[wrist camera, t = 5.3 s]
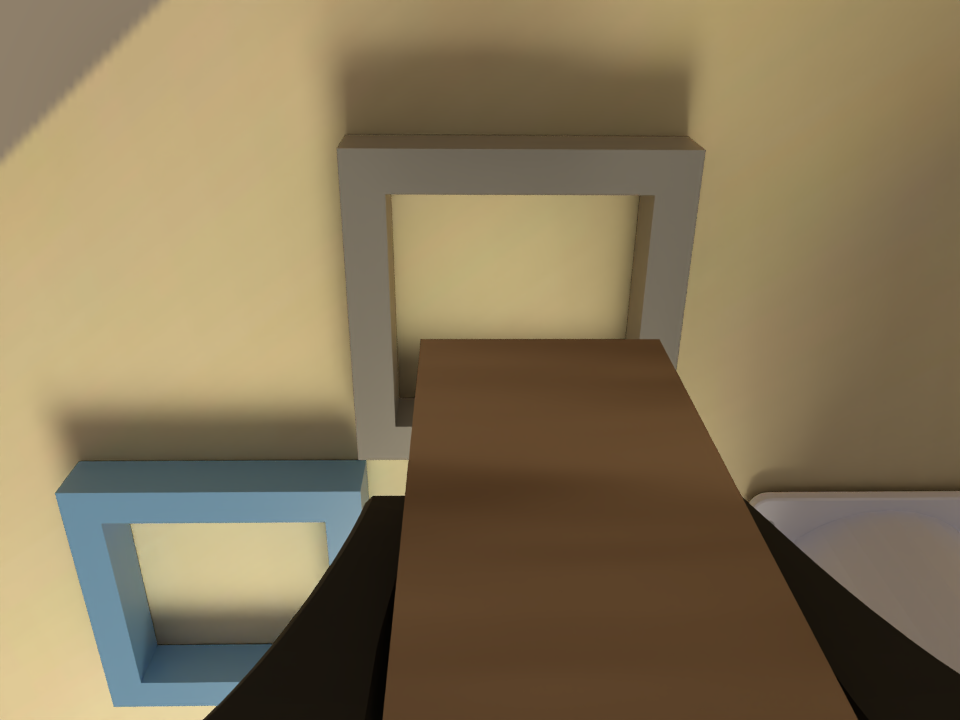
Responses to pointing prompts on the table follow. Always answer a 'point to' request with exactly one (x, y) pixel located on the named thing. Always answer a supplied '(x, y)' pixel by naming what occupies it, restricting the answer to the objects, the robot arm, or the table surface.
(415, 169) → the frame
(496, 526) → the walnut peg
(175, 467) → the blue rim cradle
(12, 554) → the table surface
